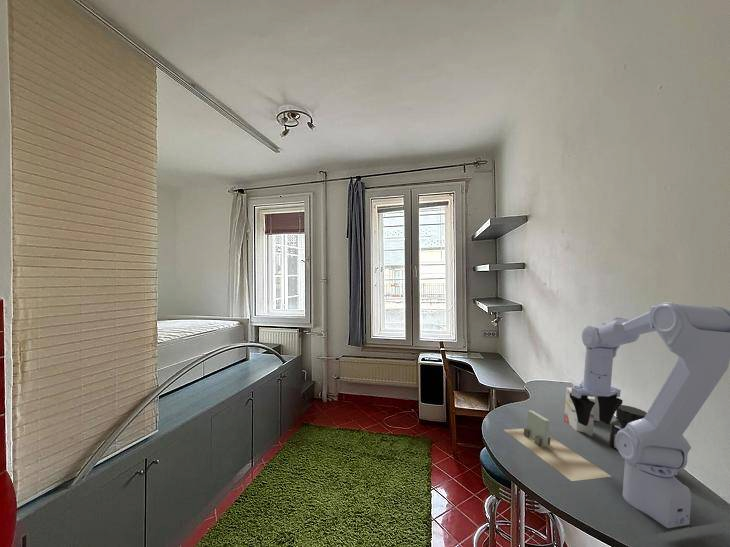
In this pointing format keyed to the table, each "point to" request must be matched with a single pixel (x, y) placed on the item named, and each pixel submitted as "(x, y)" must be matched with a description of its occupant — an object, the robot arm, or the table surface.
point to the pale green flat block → (538, 427)
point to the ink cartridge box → (571, 415)
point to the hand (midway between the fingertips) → (593, 423)
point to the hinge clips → (537, 439)
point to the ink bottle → (623, 421)
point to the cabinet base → (561, 458)
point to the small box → (596, 411)
